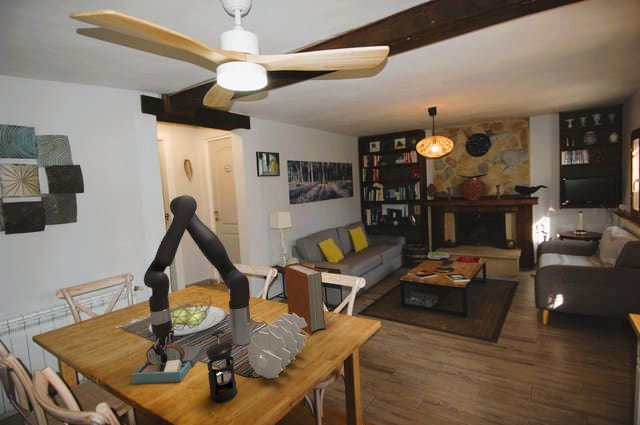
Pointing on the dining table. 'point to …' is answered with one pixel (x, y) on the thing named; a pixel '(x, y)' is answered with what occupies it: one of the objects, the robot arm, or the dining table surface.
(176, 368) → the cream tile
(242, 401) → the dining table surface
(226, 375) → the french press
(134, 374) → the tray
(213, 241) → the robot arm
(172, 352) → the tin
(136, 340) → the dining table surface
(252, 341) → the grey pine cone
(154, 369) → the terracotta tile
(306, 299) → the book
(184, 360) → the grey stone slab
